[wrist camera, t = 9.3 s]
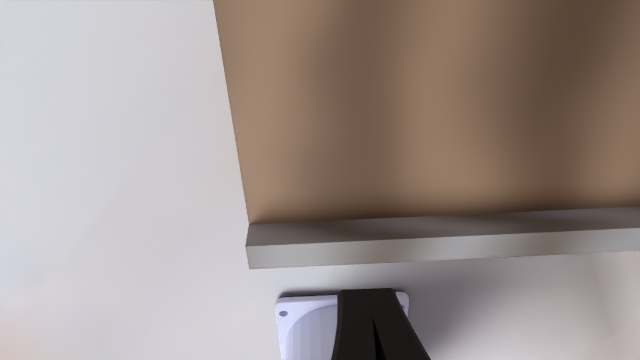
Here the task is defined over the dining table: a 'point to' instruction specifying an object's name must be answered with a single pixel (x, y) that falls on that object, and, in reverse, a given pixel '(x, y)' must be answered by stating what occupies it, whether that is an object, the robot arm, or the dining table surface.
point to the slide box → (434, 128)
